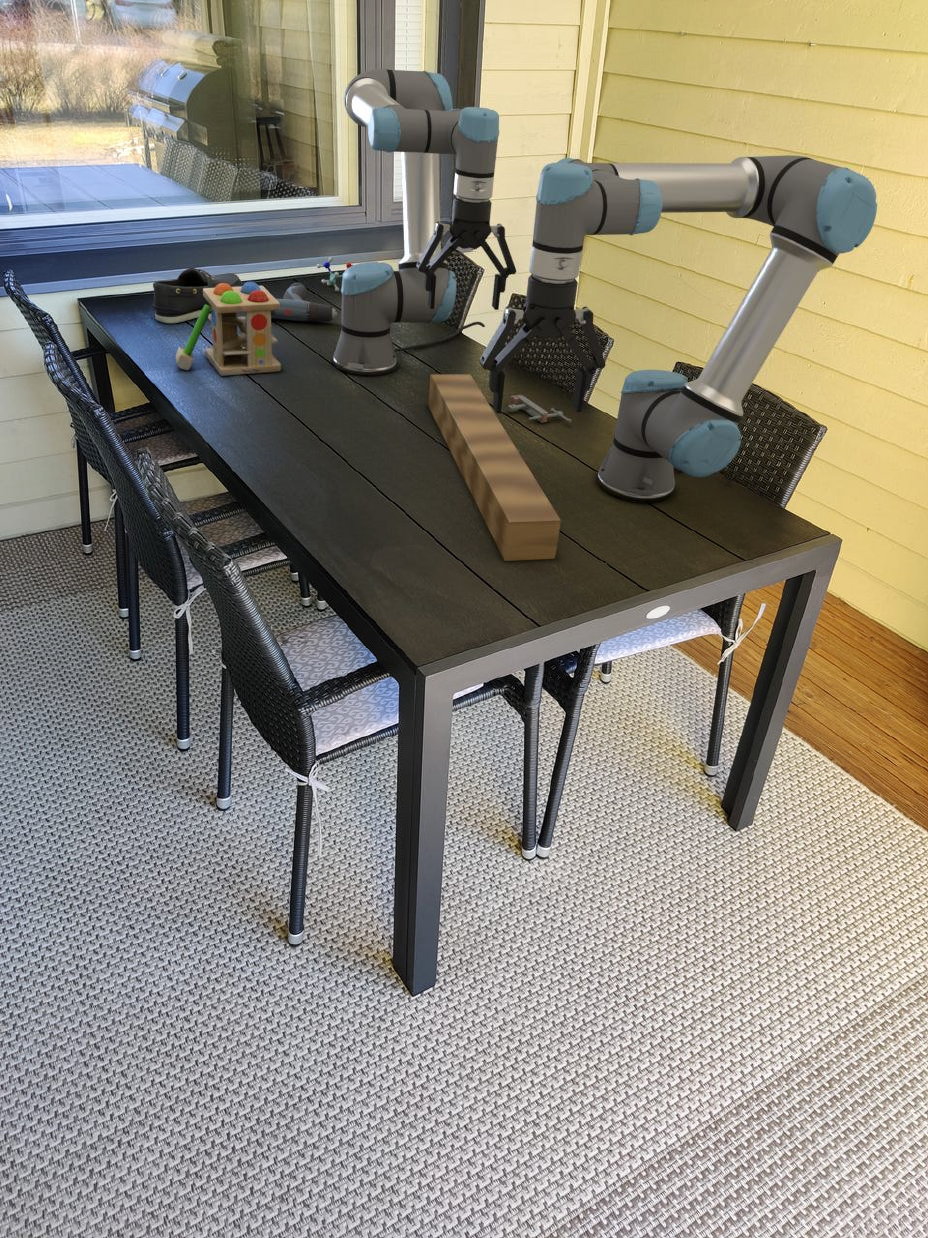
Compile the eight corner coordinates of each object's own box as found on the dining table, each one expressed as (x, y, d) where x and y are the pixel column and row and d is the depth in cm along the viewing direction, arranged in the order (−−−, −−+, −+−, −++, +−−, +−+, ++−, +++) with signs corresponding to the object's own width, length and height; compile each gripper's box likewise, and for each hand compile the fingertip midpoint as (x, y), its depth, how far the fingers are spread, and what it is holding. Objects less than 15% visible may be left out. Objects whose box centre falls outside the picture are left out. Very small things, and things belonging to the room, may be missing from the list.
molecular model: (349, 283, 280) (337, 248, 279) (321, 295, 284) (310, 261, 283) (366, 286, 291) (354, 252, 289) (339, 298, 294) (328, 265, 293)
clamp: (499, 396, 222) (536, 391, 226) (498, 406, 223) (534, 400, 228) (535, 422, 211) (573, 416, 216) (534, 432, 213) (571, 425, 217)
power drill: (344, 304, 276) (335, 327, 259) (277, 298, 275) (264, 321, 258) (344, 285, 273) (335, 306, 256) (277, 279, 272) (264, 300, 255)
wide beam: (428, 406, 220) (430, 374, 216) (467, 406, 222) (470, 374, 218) (504, 561, 167) (509, 522, 162) (554, 558, 169) (560, 520, 164)
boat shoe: (261, 302, 273) (259, 263, 267) (172, 325, 249) (168, 283, 243) (227, 293, 278) (225, 255, 273) (137, 316, 254) (132, 274, 249)
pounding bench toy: (183, 379, 220) (176, 299, 210) (169, 357, 231) (162, 280, 221) (282, 371, 230) (280, 294, 220) (264, 350, 240) (262, 276, 230)
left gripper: (412, 199, 184) (406, 312, 196) (539, 204, 190) (526, 313, 202) (405, 190, 190) (400, 300, 202) (528, 195, 196) (516, 302, 208)
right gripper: (479, 282, 142) (467, 420, 154) (639, 284, 147) (616, 417, 159) (467, 268, 148) (457, 401, 160) (622, 270, 153) (601, 399, 165)
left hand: (463, 307), depth 202 cm, fingers open, 13 cm apart
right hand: (537, 409), depth 159 cm, fingers open, 13 cm apart
